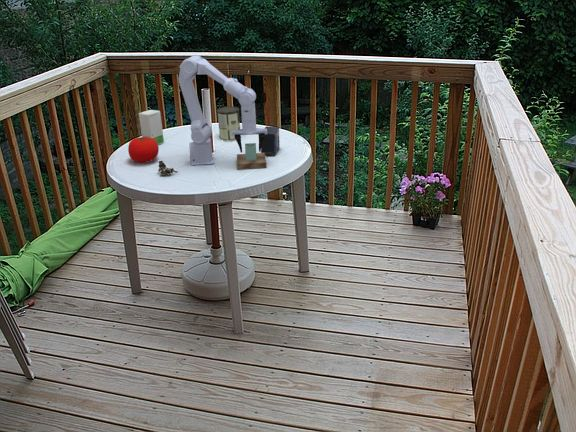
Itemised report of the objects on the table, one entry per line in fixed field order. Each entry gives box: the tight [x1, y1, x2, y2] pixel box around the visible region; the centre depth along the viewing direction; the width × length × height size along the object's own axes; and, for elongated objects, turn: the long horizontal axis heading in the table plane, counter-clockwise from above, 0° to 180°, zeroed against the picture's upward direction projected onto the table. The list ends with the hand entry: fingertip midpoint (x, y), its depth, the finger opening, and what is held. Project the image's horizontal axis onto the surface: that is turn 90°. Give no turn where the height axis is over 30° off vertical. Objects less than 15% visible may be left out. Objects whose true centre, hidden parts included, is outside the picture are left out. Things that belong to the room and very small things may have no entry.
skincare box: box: [138, 109, 165, 146], centre depth 265 cm, size 8×7×16 cm
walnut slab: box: [236, 152, 267, 171], centre depth 240 cm, size 12×12×2 cm
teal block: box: [244, 142, 257, 161], centre depth 238 cm, size 4×4×6 cm
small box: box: [260, 125, 281, 157], centre depth 251 cm, size 11×6×10 cm, turn 168°
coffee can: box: [216, 106, 241, 142], centre depth 270 cm, size 10×10×14 cm
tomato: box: [127, 136, 160, 164], centre depth 246 cm, size 14×13×10 cm
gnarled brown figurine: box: [157, 160, 178, 177], centre depth 233 cm, size 12×6×11 cm
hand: (250, 151), depth 238 cm, fingers open, 7 cm apart
